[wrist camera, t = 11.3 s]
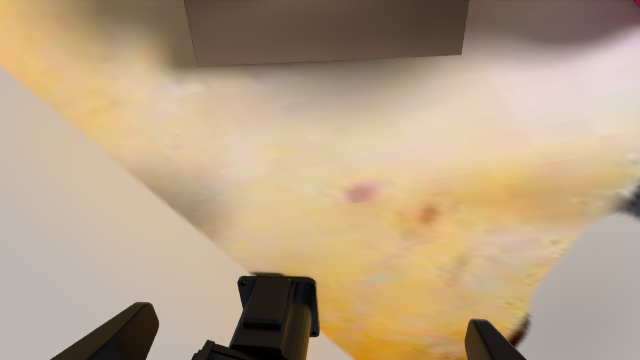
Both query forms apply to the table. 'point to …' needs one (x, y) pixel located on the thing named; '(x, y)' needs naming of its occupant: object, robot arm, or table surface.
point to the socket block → (323, 30)
